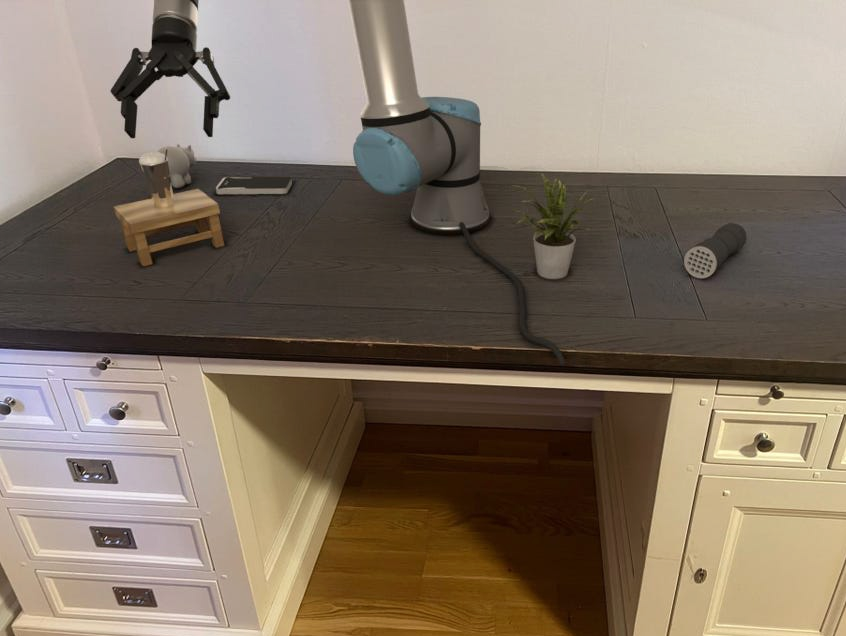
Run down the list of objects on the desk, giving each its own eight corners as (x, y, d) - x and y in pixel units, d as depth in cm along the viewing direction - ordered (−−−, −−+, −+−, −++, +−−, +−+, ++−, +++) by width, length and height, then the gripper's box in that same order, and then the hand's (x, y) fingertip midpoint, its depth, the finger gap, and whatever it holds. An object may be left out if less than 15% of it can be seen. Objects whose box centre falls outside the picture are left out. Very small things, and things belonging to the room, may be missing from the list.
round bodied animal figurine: (212, 174, 164) (204, 137, 159) (181, 192, 154) (172, 152, 150) (185, 172, 166) (176, 134, 161) (152, 189, 156) (142, 150, 151)
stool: (226, 245, 131) (218, 204, 126) (142, 267, 123) (129, 223, 118) (207, 229, 137) (198, 188, 133) (125, 248, 129) (113, 206, 125)
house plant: (493, 259, 126) (494, 167, 117) (564, 247, 130) (570, 158, 121) (526, 294, 115) (529, 196, 106) (602, 280, 119) (612, 185, 110)
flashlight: (717, 244, 131) (722, 216, 129) (745, 252, 129) (752, 223, 126) (681, 273, 121) (687, 243, 118) (712, 282, 118) (718, 252, 116)
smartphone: (286, 188, 153) (214, 188, 152) (286, 194, 153) (215, 195, 153) (292, 176, 159) (223, 177, 158) (292, 182, 160) (224, 183, 159)
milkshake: (173, 210, 123) (159, 153, 118) (145, 208, 124) (130, 151, 119) (187, 201, 127) (174, 145, 122) (160, 199, 128) (146, 143, 123)
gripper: (249, 41, 135) (246, 143, 131) (114, 42, 134) (106, 145, 130) (237, 14, 128) (234, 121, 124) (95, 15, 127) (86, 123, 123)
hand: (168, 134), depth 127 cm, fingers open, 13 cm apart
